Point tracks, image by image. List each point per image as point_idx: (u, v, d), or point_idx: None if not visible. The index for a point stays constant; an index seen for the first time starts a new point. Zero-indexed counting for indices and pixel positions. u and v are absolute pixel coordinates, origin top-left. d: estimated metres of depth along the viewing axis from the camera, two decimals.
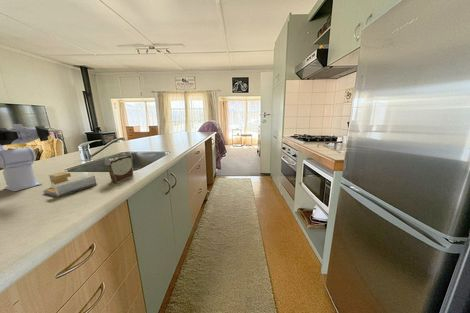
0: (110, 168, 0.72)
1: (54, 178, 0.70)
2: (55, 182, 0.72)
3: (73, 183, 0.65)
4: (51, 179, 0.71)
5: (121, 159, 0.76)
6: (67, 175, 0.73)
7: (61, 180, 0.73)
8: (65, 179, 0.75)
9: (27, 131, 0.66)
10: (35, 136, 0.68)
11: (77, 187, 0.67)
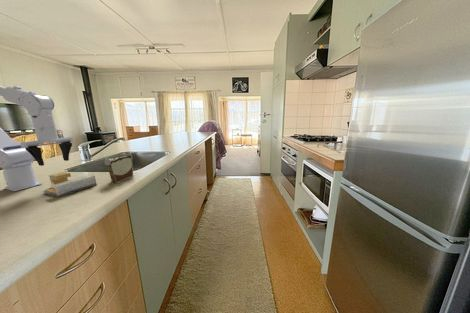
0: (110, 168, 0.72)
1: (54, 178, 0.70)
2: (55, 182, 0.72)
3: (73, 183, 0.65)
4: (51, 179, 0.71)
5: (121, 159, 0.76)
6: (67, 175, 0.73)
7: (61, 180, 0.73)
8: (65, 179, 0.75)
9: (56, 141, 0.71)
10: None
11: (77, 187, 0.67)
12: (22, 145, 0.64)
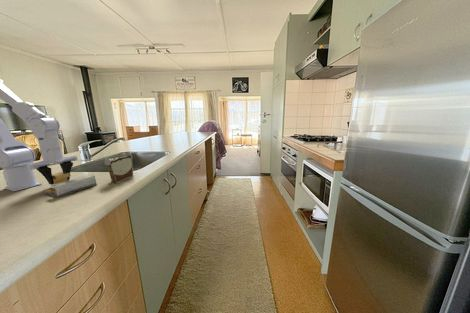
0: (110, 168, 0.72)
1: (54, 178, 0.70)
2: (55, 182, 0.72)
3: (73, 183, 0.65)
4: None
5: (121, 159, 0.76)
6: (67, 175, 0.73)
7: (61, 180, 0.73)
8: (65, 179, 0.75)
9: None
10: None
11: (77, 187, 0.67)
12: (29, 167, 0.65)
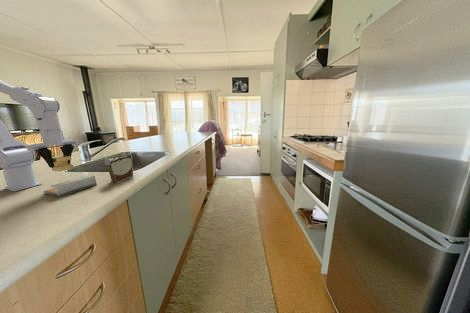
0: (110, 168, 0.72)
1: (54, 160, 0.67)
2: (55, 165, 0.69)
3: (73, 183, 0.65)
4: None
5: (121, 159, 0.76)
6: (68, 158, 0.70)
7: (62, 163, 0.71)
8: (66, 163, 0.72)
9: None
10: None
11: (77, 187, 0.67)
12: (28, 148, 0.62)
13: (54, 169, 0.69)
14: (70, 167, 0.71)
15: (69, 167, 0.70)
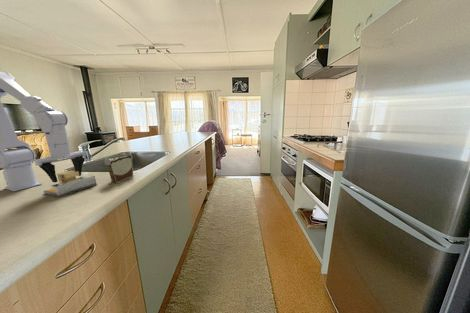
0: (110, 168, 0.72)
1: (62, 177, 0.67)
2: (63, 181, 0.69)
3: (73, 183, 0.65)
4: (59, 178, 0.68)
5: (121, 159, 0.76)
6: (76, 174, 0.70)
7: (69, 179, 0.71)
8: (73, 178, 0.72)
9: (69, 156, 0.70)
10: None
11: (77, 187, 0.67)
12: (36, 163, 0.62)
13: None
14: None
15: None
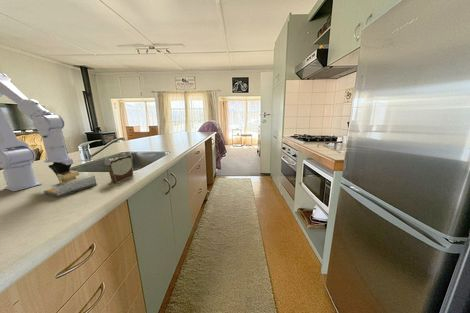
0: (110, 168, 0.72)
1: (62, 177, 0.67)
2: (63, 181, 0.69)
3: (73, 183, 0.65)
4: (59, 178, 0.68)
5: (121, 159, 0.76)
6: (76, 174, 0.70)
7: (69, 179, 0.71)
8: (73, 178, 0.72)
9: None
10: None
11: (77, 187, 0.67)
12: None
13: None
14: None
15: None
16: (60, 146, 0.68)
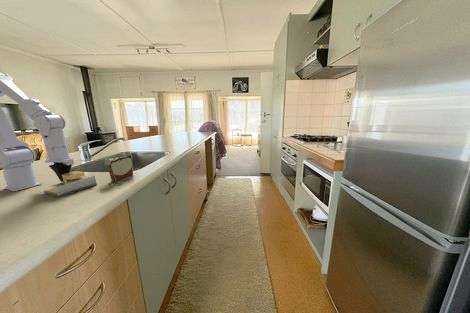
0: (110, 168, 0.72)
1: (68, 177, 0.66)
2: None
3: (73, 183, 0.65)
4: (64, 179, 0.67)
5: (121, 159, 0.76)
6: (81, 174, 0.69)
7: None
8: None
9: None
10: None
11: (77, 187, 0.67)
12: None
13: None
14: None
15: None
16: (61, 146, 0.68)
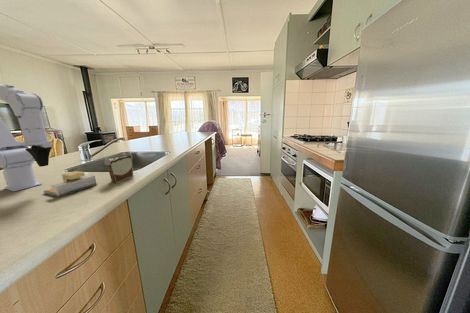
0: (110, 168, 0.72)
1: (68, 177, 0.66)
2: None
3: (73, 183, 0.65)
4: (64, 179, 0.67)
5: (121, 159, 0.76)
6: (81, 174, 0.69)
7: None
8: None
9: None
10: None
11: (77, 187, 0.67)
12: None
13: None
14: None
15: None
16: (36, 128, 0.63)
